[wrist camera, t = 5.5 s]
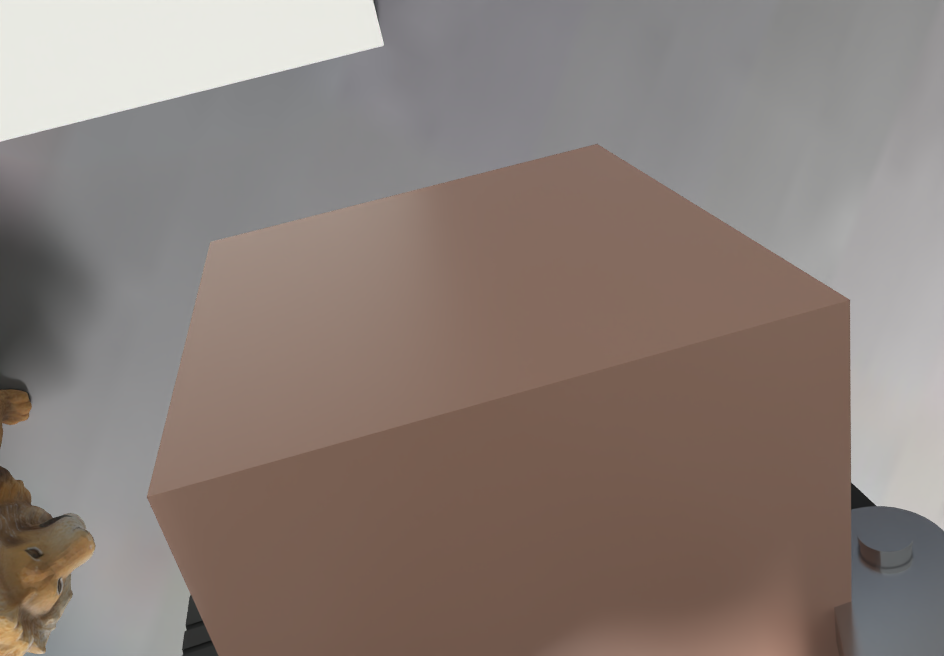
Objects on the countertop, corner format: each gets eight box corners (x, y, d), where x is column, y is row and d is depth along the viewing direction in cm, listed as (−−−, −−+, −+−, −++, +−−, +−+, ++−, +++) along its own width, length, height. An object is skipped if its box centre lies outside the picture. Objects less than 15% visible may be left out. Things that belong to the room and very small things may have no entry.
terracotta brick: (596, 143, 12) (849, 299, 7) (661, 614, 16) (853, 951, 11) (210, 241, 12) (147, 496, 6) (373, 704, 15) (422, 1108, 10)
